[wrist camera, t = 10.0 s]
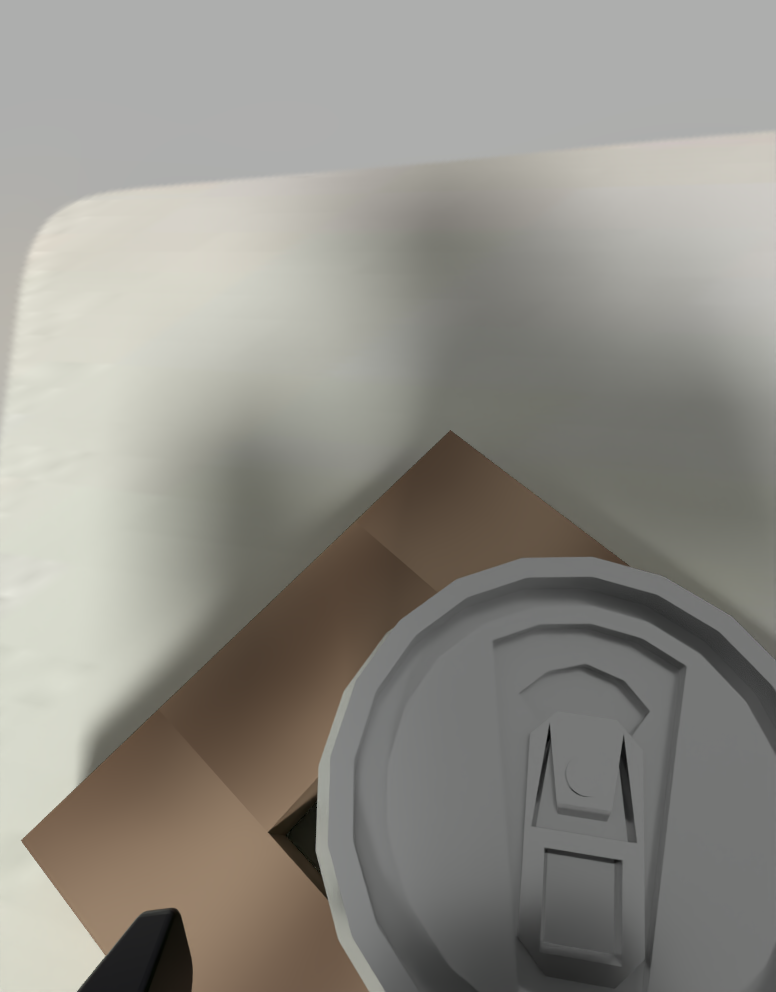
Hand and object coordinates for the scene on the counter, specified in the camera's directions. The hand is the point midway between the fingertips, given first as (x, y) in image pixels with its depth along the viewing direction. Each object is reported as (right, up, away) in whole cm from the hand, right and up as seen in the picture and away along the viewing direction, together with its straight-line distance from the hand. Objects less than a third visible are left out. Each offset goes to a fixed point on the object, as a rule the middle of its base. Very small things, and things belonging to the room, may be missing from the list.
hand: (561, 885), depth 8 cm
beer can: (0, -4, +9) cm, 10 cm away
